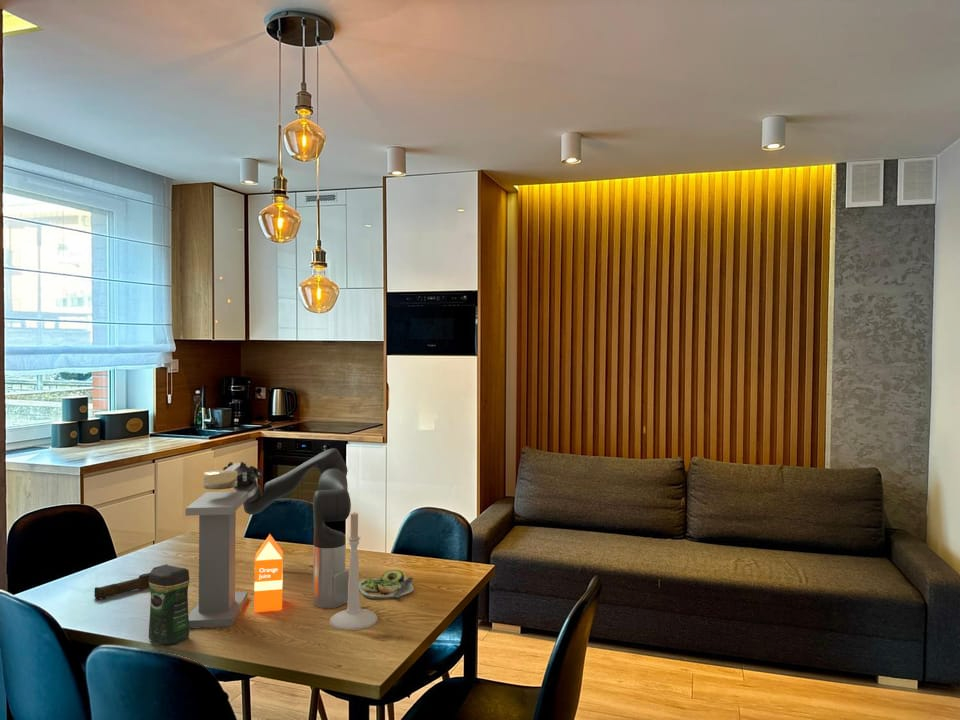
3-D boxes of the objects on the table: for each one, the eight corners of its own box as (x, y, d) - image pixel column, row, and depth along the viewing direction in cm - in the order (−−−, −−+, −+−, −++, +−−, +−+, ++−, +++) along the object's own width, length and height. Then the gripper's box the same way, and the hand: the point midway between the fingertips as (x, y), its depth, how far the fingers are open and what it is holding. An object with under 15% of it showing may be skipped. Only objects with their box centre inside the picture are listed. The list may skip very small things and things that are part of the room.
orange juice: (253, 612, 194) (254, 541, 194) (255, 601, 203) (255, 534, 203) (282, 609, 196) (283, 540, 196) (282, 599, 205) (283, 532, 205)
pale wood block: (224, 471, 221) (224, 459, 221) (253, 471, 222) (253, 458, 222) (199, 489, 191) (199, 475, 191) (233, 489, 192) (233, 474, 192)
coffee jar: (195, 637, 176) (195, 565, 176) (167, 648, 169) (168, 573, 169) (170, 630, 181) (170, 559, 181) (142, 640, 174) (143, 567, 174)
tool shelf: (205, 599, 204) (206, 492, 204) (247, 598, 206) (248, 491, 206) (184, 628, 182) (185, 508, 182) (231, 626, 184) (232, 506, 184)
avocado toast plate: (423, 600, 206) (423, 584, 206) (363, 606, 201) (363, 590, 201) (410, 580, 225) (410, 566, 225) (355, 585, 219) (355, 570, 219)
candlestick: (326, 615, 192) (327, 508, 192) (371, 610, 196) (372, 505, 197) (333, 632, 180) (334, 518, 180) (381, 626, 184) (382, 515, 185)
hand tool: (98, 602, 202) (98, 586, 202) (93, 599, 205) (93, 583, 205) (163, 587, 216) (163, 572, 216) (157, 584, 219) (158, 569, 219)
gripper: (265, 493, 231) (257, 475, 216) (222, 494, 229) (211, 476, 214) (267, 472, 234) (259, 453, 220) (224, 473, 232) (214, 454, 218)
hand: (235, 465), depth 217 cm, fingers closed on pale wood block, 2 cm apart
